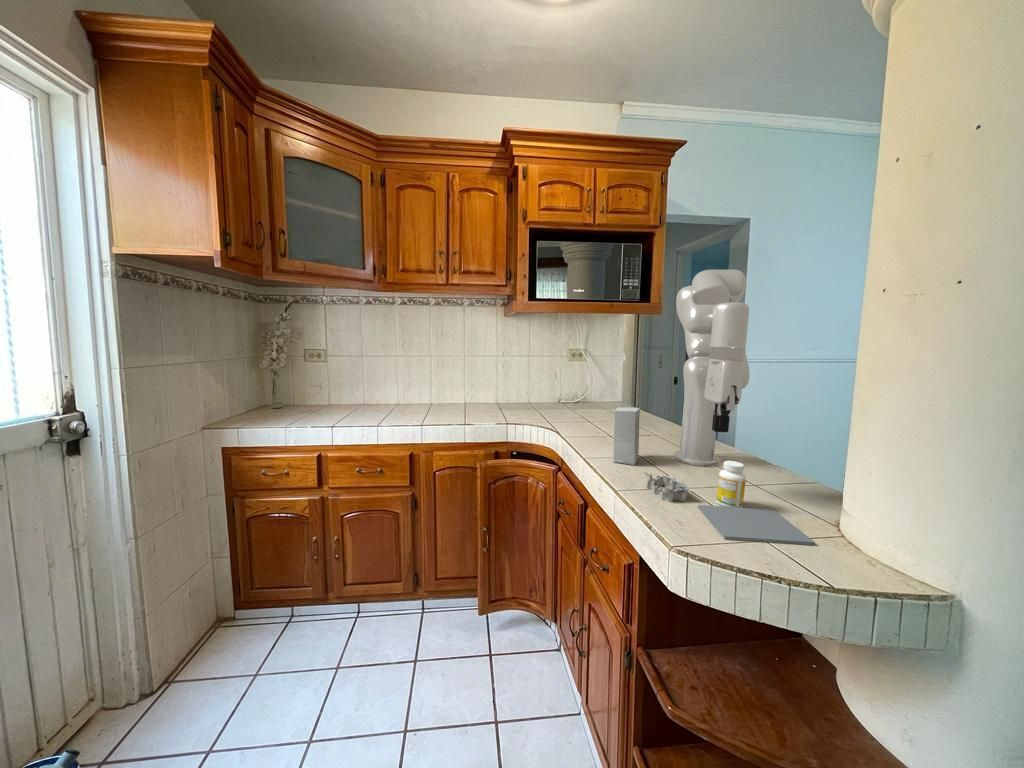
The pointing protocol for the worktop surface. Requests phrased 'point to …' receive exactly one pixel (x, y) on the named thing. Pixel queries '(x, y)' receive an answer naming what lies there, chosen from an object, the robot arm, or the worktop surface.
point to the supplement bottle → (731, 485)
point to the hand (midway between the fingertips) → (719, 431)
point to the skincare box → (626, 435)
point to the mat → (753, 525)
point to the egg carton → (667, 488)
